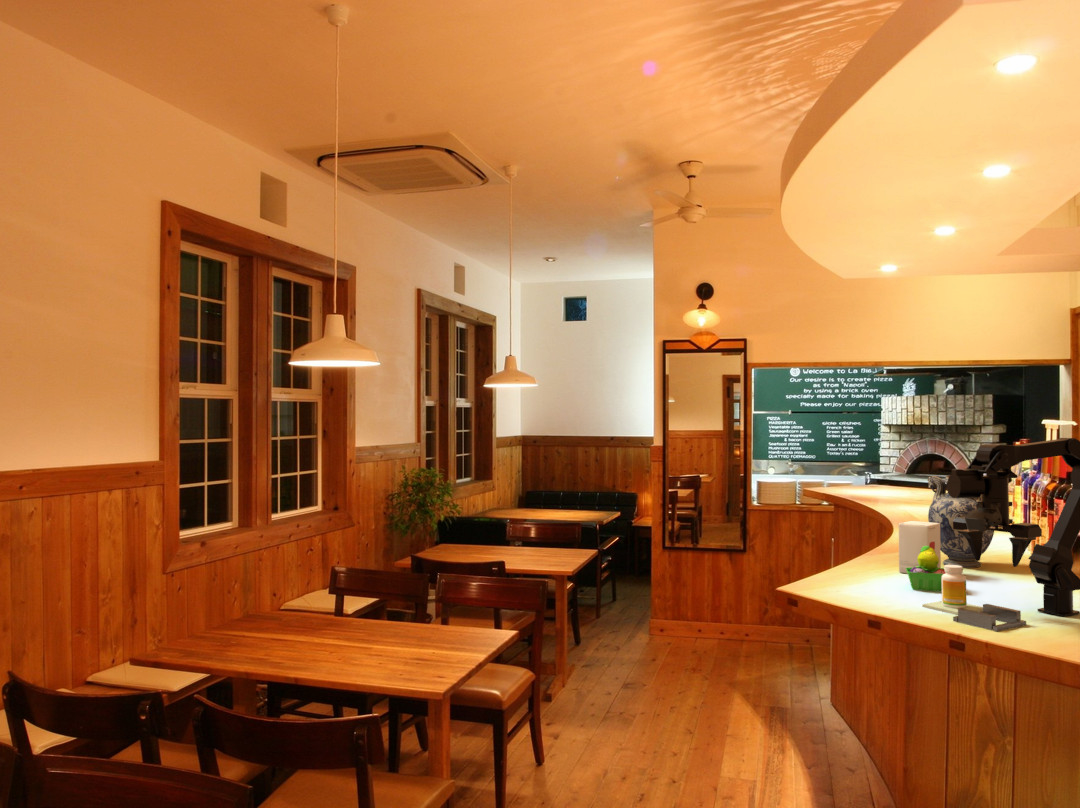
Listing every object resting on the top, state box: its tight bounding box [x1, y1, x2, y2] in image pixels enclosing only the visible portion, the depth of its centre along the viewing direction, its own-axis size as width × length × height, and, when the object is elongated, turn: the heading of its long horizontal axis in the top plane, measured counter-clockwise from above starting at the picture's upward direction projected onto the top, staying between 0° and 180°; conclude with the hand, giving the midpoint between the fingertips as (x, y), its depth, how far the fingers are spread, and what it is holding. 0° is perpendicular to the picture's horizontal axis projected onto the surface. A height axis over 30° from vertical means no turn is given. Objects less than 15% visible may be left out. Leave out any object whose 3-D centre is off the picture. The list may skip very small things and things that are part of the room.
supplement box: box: [898, 520, 942, 575], centre depth 244 cm, size 9×9×15 cm
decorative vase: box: [927, 474, 995, 569], centre depth 256 cm, size 21×19×28 cm
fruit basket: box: [906, 546, 946, 592], centre depth 222 cm, size 11×9×11 cm
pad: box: [921, 600, 983, 616], centre depth 199 cm, size 10×10×1 cm
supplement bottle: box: [941, 565, 968, 608], centre depth 199 cm, size 5×5×10 cm
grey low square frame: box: [952, 603, 1027, 632], centre depth 185 cm, size 10×10×3 cm
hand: (996, 563), depth 193 cm, fingers open, 9 cm apart
